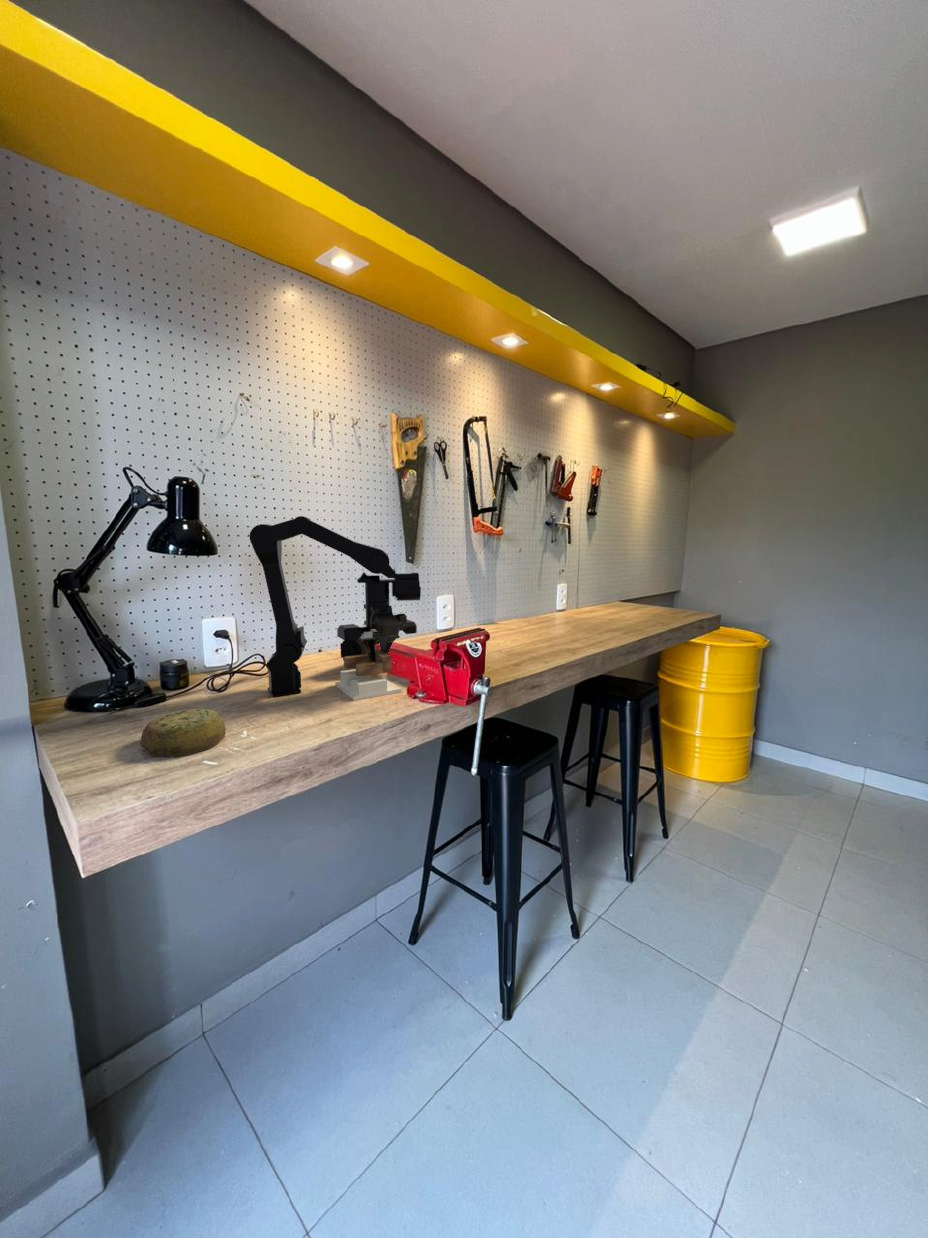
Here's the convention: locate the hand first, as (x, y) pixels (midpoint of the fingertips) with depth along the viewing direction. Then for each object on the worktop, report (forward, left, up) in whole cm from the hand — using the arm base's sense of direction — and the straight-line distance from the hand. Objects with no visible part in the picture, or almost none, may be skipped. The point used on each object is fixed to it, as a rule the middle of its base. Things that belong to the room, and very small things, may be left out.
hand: (378, 663), depth 122 cm
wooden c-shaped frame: (-3, 0, -6) cm, 7 cm away
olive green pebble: (-43, -12, -6) cm, 45 cm away
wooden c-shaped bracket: (-3, 0, -1) cm, 3 cm away
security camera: (+5, +17, -6) cm, 19 cm away
